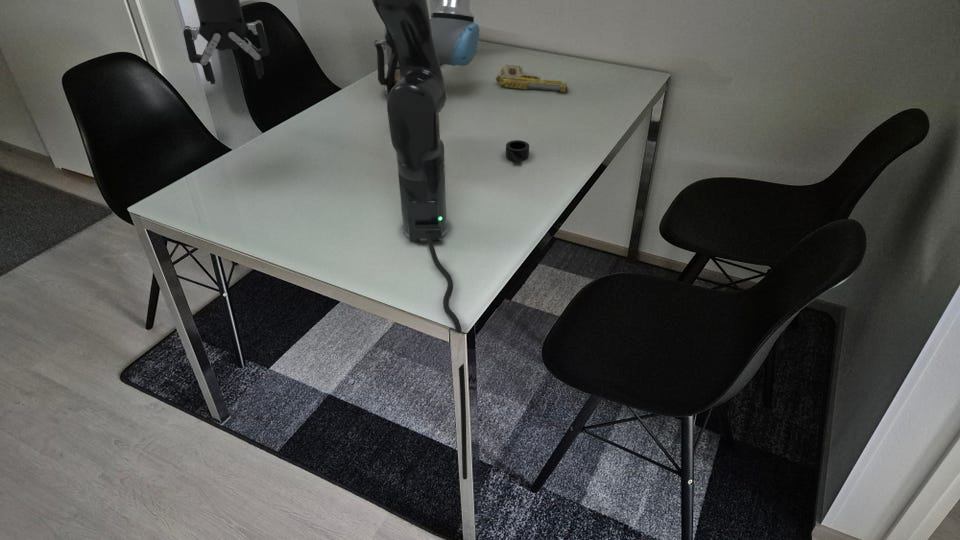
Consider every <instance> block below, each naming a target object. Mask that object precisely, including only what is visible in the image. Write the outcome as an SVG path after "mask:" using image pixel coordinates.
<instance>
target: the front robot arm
mask: <svg viewBox="0 0 960 540" xmlns="http://www.w3.org/2000/svg"><path fill="white" fill-rule="evenodd" d="M371 1H372V4H373V7H374V8H375V11H376V12H377V15H378V16H379V18H380V19H381V21H382V23H383V25H384V27H385V26H386V28H387V29H388V31H389V33H390V34H391V36H392V39H393V41H394V44H395V47H396V51H397V56H398V62H399V68H400V80H399V81H398V82H397V84H396V85H395V86H394V87H393V88H392V89H391V91H390V93H389V95H388V98H387V101H386V109H387V111H386V112H387V120H388V127H389V133H390V141H391V145H392V147H393V149H394V151H395V153H396V154H395V155H396V163H397V176H398V185H399V197H400V208H401V218H402V219H401V220H402V233H403V234H404V236H405V237H406V238H407V239H408V240H409V242H410V243H427V245H428V249H429V252H430V256H431V258H432V260H433V263H434V266H436V268H437V270H439V271H440V273H441V274H442V275H443V276H444V277H445V279H446V282H447V287H446V290H445V293H444V296H443V300H442V304H443V310H444V312H445V314H447V315H448V317H449V318H450V319H451V321H452V323H453V325H454V328H455V332H456V333H457V334H461V333H462V330H463V329H462V326H461V322H460V320H459V318H458V316H457V315H456V314H455V312H453V310H452V309H451V308H450V305H449V300H450V297H451V294H452V291H453V288H454V283H453V277H452V276H451V274H450V273H449V272H448V271H447V269H445V267H444V266H443V265H442V263H441V262H440V260H439V258H438V255H437V252H436V249H435V245H434V242H435V243H436V242H440V241H441V239H443V237H444V236H446V234H447V232H448V229H449V227H448V225H449V224H448V214H447V190H446V188H447V187H446V166H445V165H446V164H445V163H446V162H445V144H444V142H443V140H442V139H441V137H440V138H438V134H437V115H438V114H440V113H441V111H442V110H443V108H444V107H445V104H446V101H447V88H446V82H445V79H444V76H443V72H442V69H441V65H439V61H438V58H437V54H436V50H435V46H434V42H433V38H432V32H431V24H430V19H431V17H430V13H429V11H430V10H429V6H428V0H371ZM193 2H194V6H195V9H196V14H197V18H198V21H199V27H191V26H190V25H185V26H184V28H183V32H182V33H183V37H184V43H185V47H186V52H187V57H188V60H189V62H190V63H191V64H199V65H201V67H202V72H203V74H204V78H205V80H206V82H210V85H215V84H216V77H215V74H214V71H213V66H212V63H211V61H210V59H211V58H212V56H213V54H214V52H215V50H218V51H220V52H221V51H222V52H223V51H226V50H238V49H239V48H241V49H242V50H243V51H244V52H246V53H247V54H249V55H250V56H251V57H252V59H253V65H254V69H255V73H256V77H257V78H256V79H257V80H262V76H264V75H265V69H264V65H263V64H264V63H263V59H262V58H264V57H267V56H269V55H270V46H269V43H268V39H267V35H266V31H265V28H264V25H263V21H262V20H261V19H256V20H255V21H253V22H252V21H251V22H246V21H245V18H244V15H243V11H242V10H243V9H242V6H241V2H240V0H193ZM249 31H251V32H252V34H253V35H255V36H257V37H258V40H259V44H260V48H257V47H256V46H255V45H254V44H252V42H251V41H250V39H248V38H247V37H246V36H247V35H248V32H249ZM199 35H200V36H201V37H202V38H203V39H204V40H205V41H206V42H207V43H206V45H205V48H204V49H203V51H202V54H200V53H197V50H196V45H195V41H196V40H197V39H198V36H199ZM465 375H466V374H465V363H464V362H463V363H462V364H461V365H460V366H459V367H458V381H459V399H460V403H459V404H460V430H461V432H460V434H461V437H460V438H461V439H460V440H461V472H462V474H461V475H462V479H463V480H467V479H468V451H467V450H468V449H467V448H468V447H467V446H468V445H467V401H466V379H465V378H466V377H465Z"/></svg>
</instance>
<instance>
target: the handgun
mask: <svg viewBox="0 0 960 540" xmlns="http://www.w3.org/2000/svg"><path fill="white" fill-rule="evenodd" d="M500 73H501V74H497V76H496V77H495V80H496V83H498V84H499V85H501V86H503V87H505V88H513V89H520V90H521V89H522V90H528V89H534V90H541V91H542V90H544V91H555V92H559V93H563V94H565V93H566V92H568V91H569V86H568V83H566V82H563V81H562V80H551V79H542V78H541V77H540V76H537V75H530V74H525V73H523V66H522V65H521V66H520V65H516V64H504V65H503V66H501V69H500Z"/></svg>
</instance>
